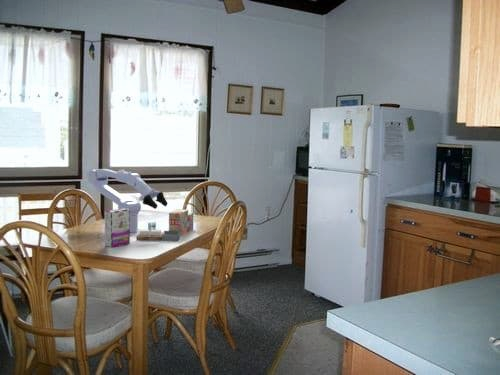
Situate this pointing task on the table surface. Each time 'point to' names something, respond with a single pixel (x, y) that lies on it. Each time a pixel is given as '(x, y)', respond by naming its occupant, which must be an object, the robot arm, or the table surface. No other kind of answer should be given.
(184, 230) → the stack of blocks
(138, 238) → the board
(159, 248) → the table surface
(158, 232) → the tile
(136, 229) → the robot arm
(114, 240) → the candy bar box
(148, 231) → the tile
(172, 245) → the table surface
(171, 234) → the tray
